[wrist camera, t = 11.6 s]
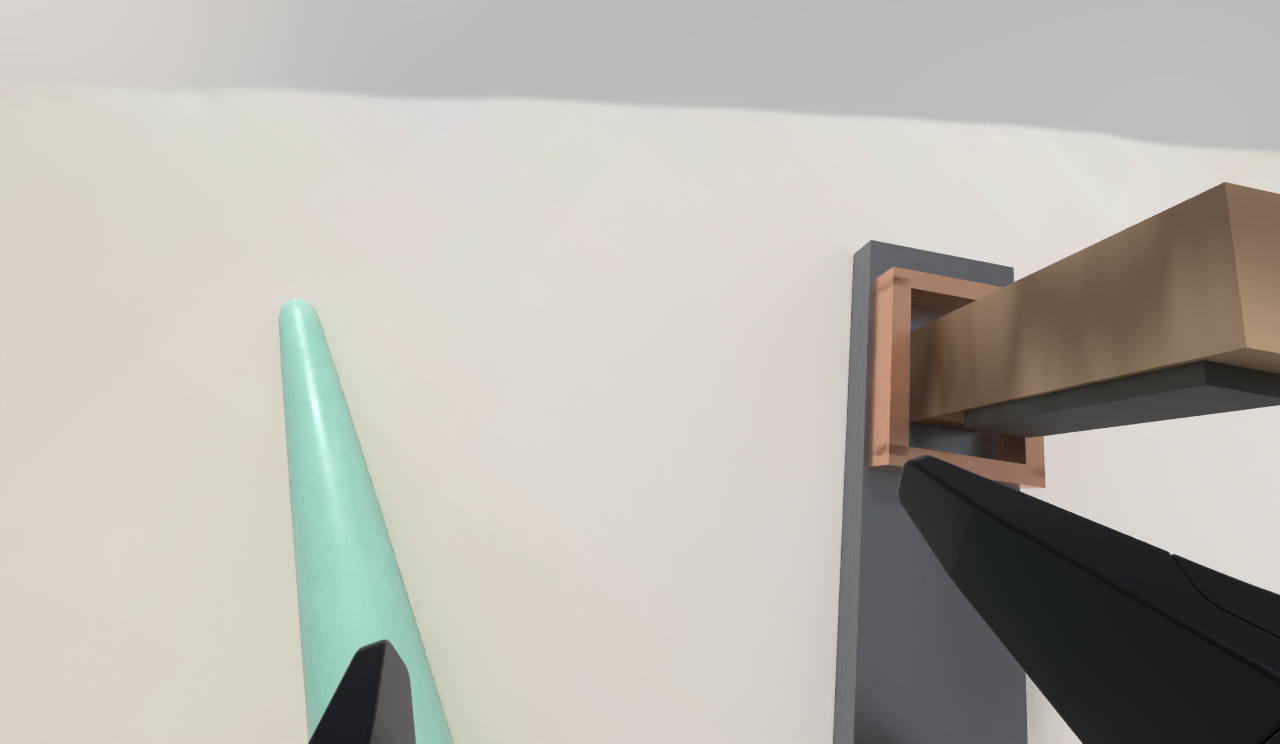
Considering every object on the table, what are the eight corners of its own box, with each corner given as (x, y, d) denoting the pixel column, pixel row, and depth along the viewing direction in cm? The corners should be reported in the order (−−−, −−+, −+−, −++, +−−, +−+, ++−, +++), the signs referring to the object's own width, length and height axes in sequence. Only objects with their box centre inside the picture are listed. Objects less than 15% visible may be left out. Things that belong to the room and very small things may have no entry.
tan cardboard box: (975, 445, 24) (1369, 395, 12) (909, 435, 24) (1249, 374, 12) (974, 342, 25) (1335, 206, 13) (911, 331, 25) (1225, 182, 13)
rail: (1001, 914, 21) (1687, 1555, 8) (826, 903, 21) (1283, 1591, 8) (989, 279, 28) (1377, 82, 15) (854, 254, 27) (1134, 22, 14)
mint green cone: (316, 228, 18) (551, 1205, 14) (370, 289, 24) (553, 1010, 19) (130, 267, 17) (319, 1341, 13) (231, 322, 23) (389, 1095, 18)
